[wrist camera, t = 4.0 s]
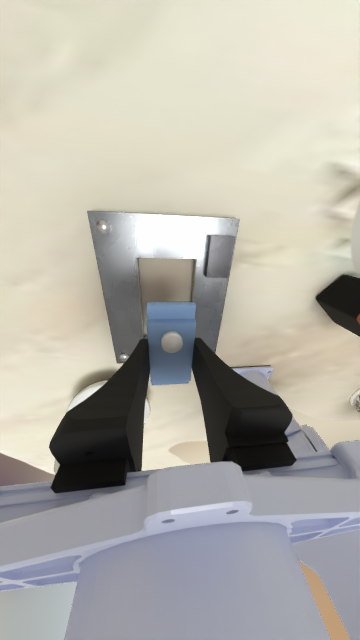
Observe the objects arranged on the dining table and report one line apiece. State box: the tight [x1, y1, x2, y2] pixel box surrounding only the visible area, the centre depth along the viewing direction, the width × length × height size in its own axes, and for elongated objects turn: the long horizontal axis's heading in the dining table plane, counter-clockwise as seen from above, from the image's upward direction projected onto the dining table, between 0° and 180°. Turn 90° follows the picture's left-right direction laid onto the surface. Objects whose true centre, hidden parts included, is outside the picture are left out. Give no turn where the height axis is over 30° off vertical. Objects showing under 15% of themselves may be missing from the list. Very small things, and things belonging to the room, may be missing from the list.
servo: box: [147, 302, 196, 385], centre depth 13 cm, size 8×3×4 cm, turn 178°
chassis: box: [87, 211, 240, 363], centre depth 20 cm, size 18×14×2 cm
